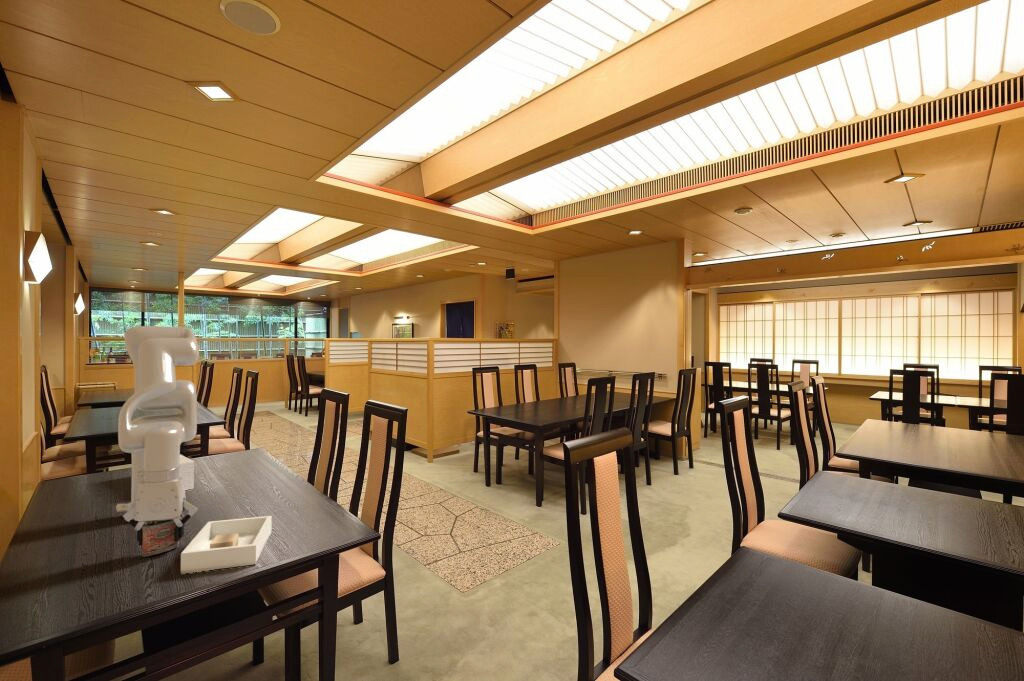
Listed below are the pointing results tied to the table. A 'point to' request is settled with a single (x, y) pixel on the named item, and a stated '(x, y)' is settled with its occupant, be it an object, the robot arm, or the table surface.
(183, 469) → the white long block
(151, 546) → the lighter
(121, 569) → the table surface
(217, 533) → the tote
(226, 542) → the cube
